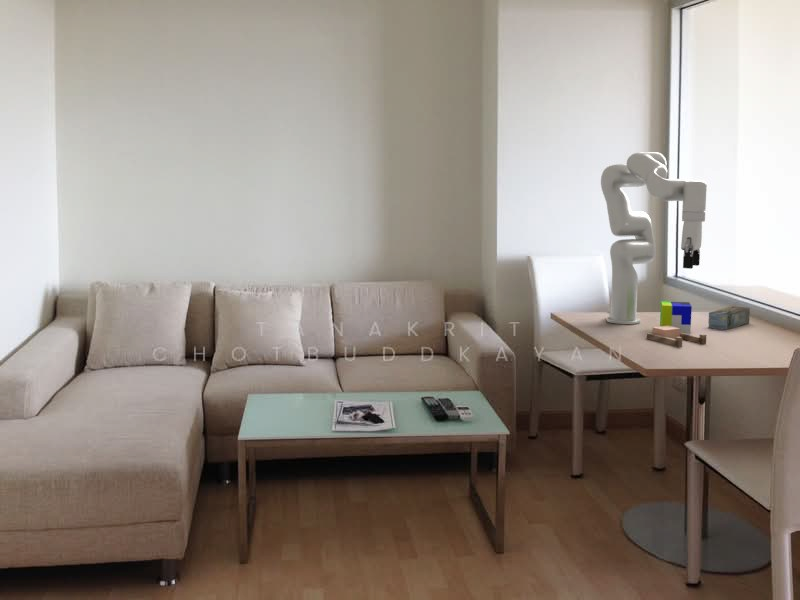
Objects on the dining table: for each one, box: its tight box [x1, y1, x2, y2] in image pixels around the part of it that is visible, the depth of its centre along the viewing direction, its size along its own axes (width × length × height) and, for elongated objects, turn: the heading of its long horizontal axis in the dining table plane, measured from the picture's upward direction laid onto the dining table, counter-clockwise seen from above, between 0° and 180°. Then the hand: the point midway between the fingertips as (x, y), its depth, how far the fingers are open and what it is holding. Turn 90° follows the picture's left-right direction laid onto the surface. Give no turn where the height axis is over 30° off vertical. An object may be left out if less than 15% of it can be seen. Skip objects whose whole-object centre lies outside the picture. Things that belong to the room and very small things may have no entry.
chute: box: [646, 332, 707, 348], centre depth 331 cm, size 16×12×3 cm
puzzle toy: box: [659, 301, 693, 335], centre depth 350 cm, size 10×10×10 cm
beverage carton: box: [708, 305, 751, 331], centre depth 361 cm, size 8×19×7 cm, turn 136°
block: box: [652, 326, 680, 339], centre depth 336 cm, size 6×7×4 cm
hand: (691, 266), depth 330 cm, fingers open, 9 cm apart
